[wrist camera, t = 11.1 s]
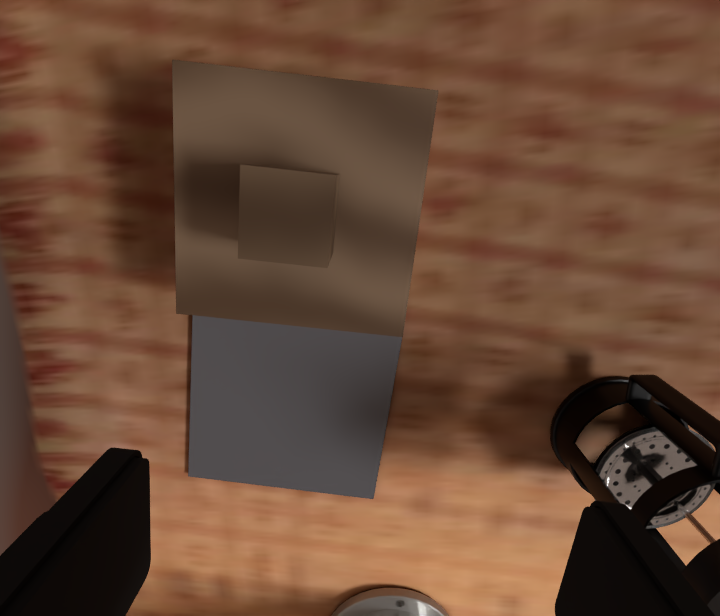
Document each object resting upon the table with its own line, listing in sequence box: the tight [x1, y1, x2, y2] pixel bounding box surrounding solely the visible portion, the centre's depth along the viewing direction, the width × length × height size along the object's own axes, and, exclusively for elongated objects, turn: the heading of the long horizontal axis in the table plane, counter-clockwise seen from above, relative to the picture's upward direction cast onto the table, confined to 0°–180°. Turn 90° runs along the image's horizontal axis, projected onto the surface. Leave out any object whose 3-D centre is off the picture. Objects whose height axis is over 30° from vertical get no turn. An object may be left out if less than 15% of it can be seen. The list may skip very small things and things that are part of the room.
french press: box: [550, 375, 720, 616], centre depth 26 cm, size 12×9×23 cm
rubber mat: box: [188, 315, 402, 499], centre depth 36 cm, size 16×16×1 cm
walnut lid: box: [172, 60, 438, 337], centre depth 24 cm, size 14×14×5 cm
